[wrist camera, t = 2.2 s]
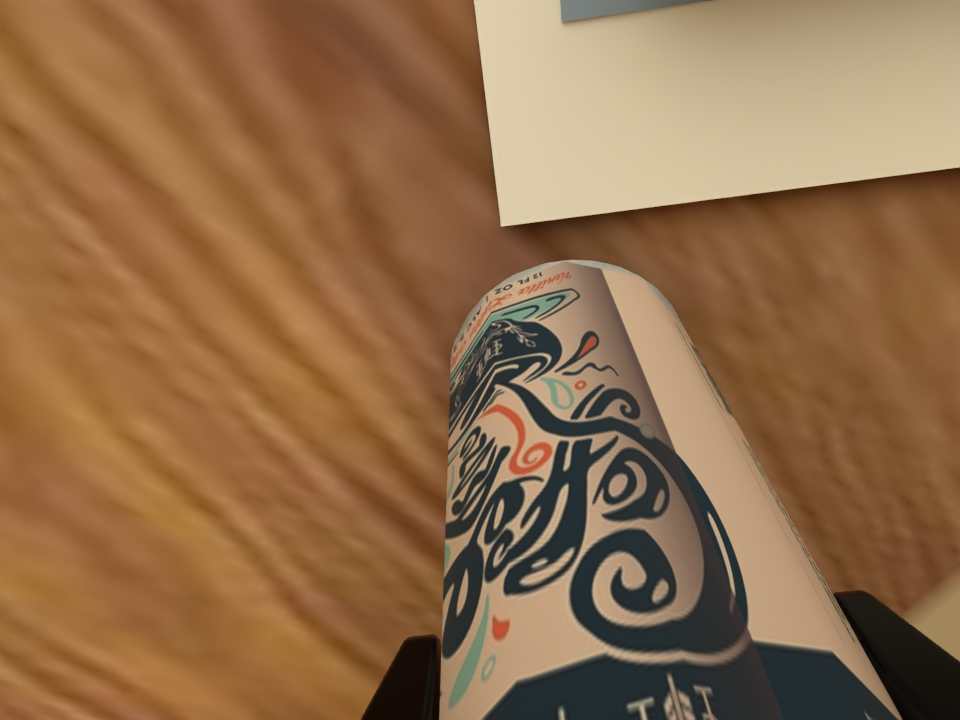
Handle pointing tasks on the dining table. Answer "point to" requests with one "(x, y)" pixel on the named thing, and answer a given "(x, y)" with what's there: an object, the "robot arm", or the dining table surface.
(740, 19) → the white flat square slab
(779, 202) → the dining table surface
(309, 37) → the dining table surface
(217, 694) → the dining table surface
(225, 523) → the dining table surface
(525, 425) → the beer can
